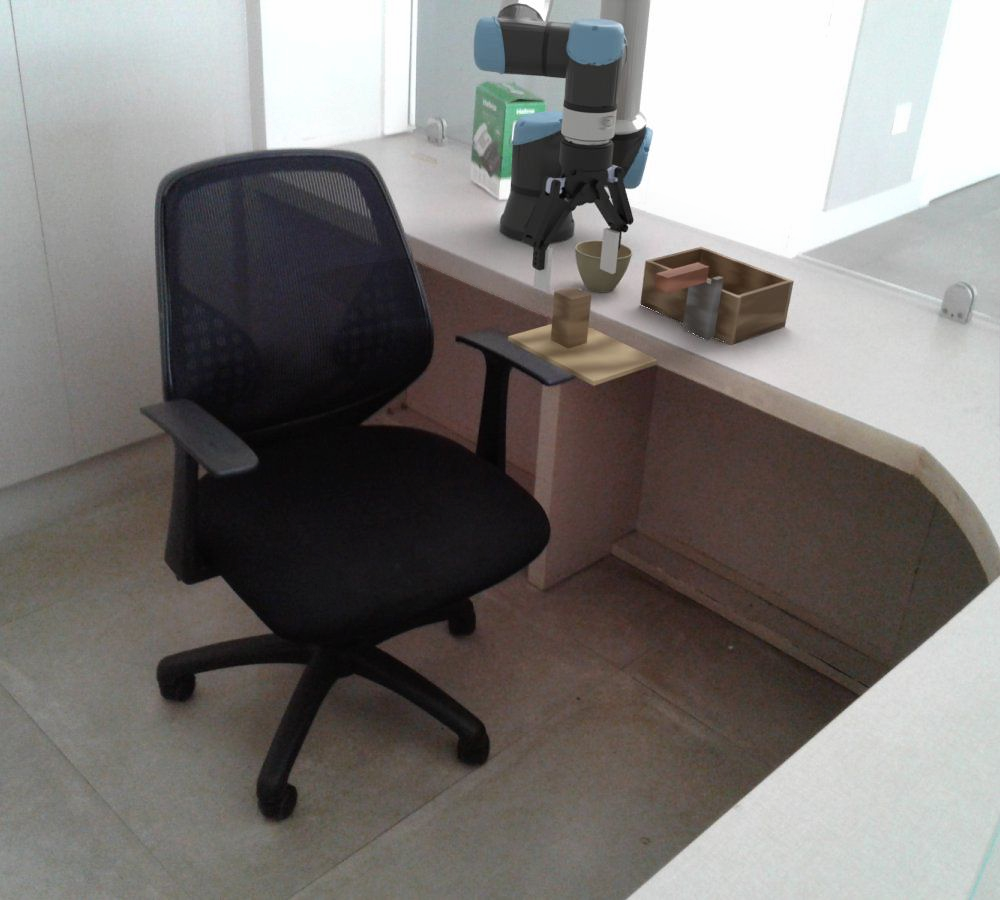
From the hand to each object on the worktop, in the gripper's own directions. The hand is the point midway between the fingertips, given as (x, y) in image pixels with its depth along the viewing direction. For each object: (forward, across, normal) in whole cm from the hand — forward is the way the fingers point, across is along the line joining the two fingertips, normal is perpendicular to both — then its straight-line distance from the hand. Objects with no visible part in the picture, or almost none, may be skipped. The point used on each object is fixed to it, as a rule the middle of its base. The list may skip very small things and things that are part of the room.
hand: (575, 279), depth 159 cm
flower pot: (+11, +22, +16) cm, 29 cm away
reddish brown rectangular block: (+1, +15, -8) cm, 17 cm away
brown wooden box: (+11, +28, -4) cm, 31 cm away
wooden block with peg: (+11, 0, -3) cm, 12 cm away
